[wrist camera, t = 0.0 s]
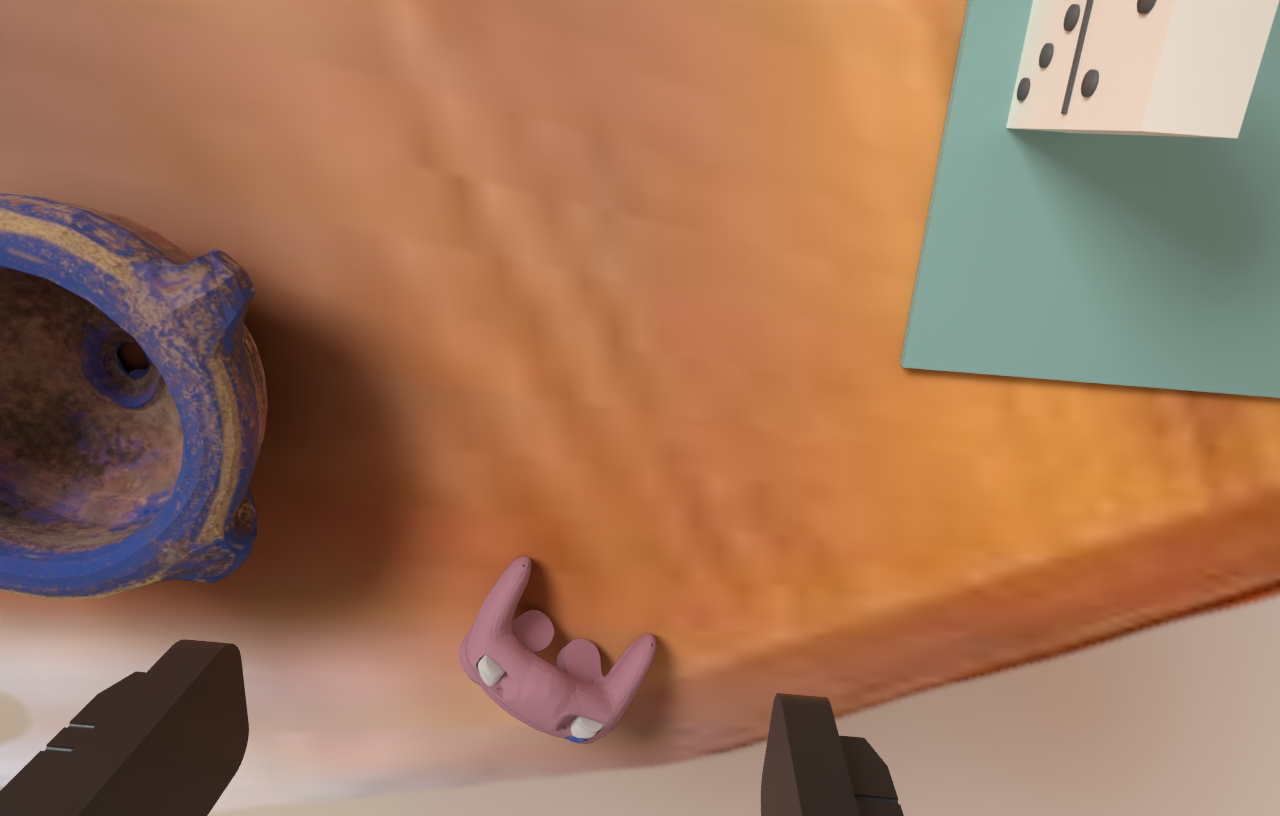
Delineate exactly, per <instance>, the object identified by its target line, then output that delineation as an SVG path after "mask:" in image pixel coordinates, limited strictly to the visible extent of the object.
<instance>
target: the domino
mask: <svg viewBox="0 0 1280 816" xmlns="http://www.w3.org/2000/svg"><path fill="white" fill-rule="evenodd" d="M1278 4H1279V0H1033V3H1032V8H1031V13H1030V17H1029V22H1028V27H1027V31H1026V36H1025V41H1024V46H1023V50H1022V55H1021V60H1020V65H1019V69H1018V74H1017V79H1016V83H1015V88H1014V93H1013V98H1012V102H1011V107H1010V112H1009V117H1008V121H1007V126H1006V128H1011V129H1025V130H1038V131H1051V132H1064V133H1081V134H1113V135H1145V136H1177V137H1208V138H1238V135H1239V132H1240V129H1241V125H1242V122H1243V119H1244V115H1245V112H1246V109H1247V106H1248V102H1249V99H1250V96H1251V92H1252V89H1253V86H1254V83H1255V79H1256V76H1257V73H1258V69H1259V66H1260V63H1261V59H1262V56H1263V53H1264V50H1265V46H1266V43H1267V40H1268V36H1269V33H1270V30H1271V27H1272V23H1273V20H1274V17H1275V13H1276V10H1277V7H1278Z"/></svg>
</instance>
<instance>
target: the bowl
mask: <svg viewBox="0 0 1280 816" xmlns="http://www.w3.org/2000/svg"><path fill="white" fill-rule="evenodd" d="M255 291H256V289H255V287H254V285H253V283H252V282H251V280H250V278H249V277H248V275H247V273H246V271H245V270H244V268H243V267H242V266H241V265H239V264H238V263H237V262H236V261H234V260H233V259H232V258H231V257H229V256H228V255H227V254H226V253H224V252H222V251H220V250H212V251H211V252H209V253H208V254H206V255H203V256H201V257H198V258H196V259H194V260H192V259H191V258H190V257H189V256H187V255H186V254H185V253H184V252H183V251H182V250H181V249H180V248H178V247H177V246H175V245H174V244H172V243H171V242H170V241H168V240H167V239H165V238H164V237H162V236H161V235H160V234H158V233H157V232H154V231H152V230H150V229H148V228H146V227H144V226H142V225H140V224H138V223H135V222H133V221H131V220H129V219H127V218H125V217H121V216H117V215H113V214H110V213H106V212H102V211H98V210H95V209H91V208H87V207H84V206H80V205H77V204H70V203H62V202H58V201H54V200H51V199H46V198H39V197H32V196H22V195H11V194H0V591H3V592H8V593H14V594H19V595H25V596H30V597H36V598H41V599H47V600H65V599H94V598H104V597H108V596H111V595H115V594H118V593H122V592H125V591H129V590H132V589H136V588H139V587H143V586H146V585H150V584H153V583H157V582H160V581H166V580H172V579H178V580H188V581H199V582H215V581H218V580H220V579H222V578H224V577H227V576H228V575H230V574H231V573H232V572H233V571H235V570H236V569H237V568H238V567H240V566H241V565H242V564H243V563H244V561H245V560H246V559H247V557H248V556H249V555H250V554H251V551H252V546H253V542H254V540H255V538H256V536H257V510H256V507H255V504H254V501H253V498H252V494H251V491H250V488H249V483H250V480H251V477H252V474H253V471H254V468H255V465H256V463H257V460H258V456H259V453H260V449H261V446H262V442H263V439H264V436H265V428H266V418H267V407H268V400H267V390H266V381H265V372H264V369H263V365H262V362H261V359H260V355H259V352H258V348H257V346H256V344H255V342H254V340H253V338H252V336H251V335H250V333H249V331H248V329H247V327H246V325H245V323H244V319H245V316H246V313H247V310H248V307H249V305H250V303H251V301H252V298H253V296H254V294H255ZM125 342H136V343H138V344H139V346H140V347H141V348H142V350H143V351H144V355H145V358H146V360H147V362H148V363H149V366H148V368H146V369H145V370H139V369H137V370H134V371H132V372H129V373H128V372H126V370H125V369H124V368H123V366H122V364H121V361H120V360H119V358H118V356H117V351H118V348H119V346H120V345H121V344H123V343H125Z"/></svg>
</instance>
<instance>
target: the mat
mask: <svg viewBox="0 0 1280 816" xmlns="http://www.w3.org/2000/svg"><path fill="white" fill-rule="evenodd" d="M1032 3H1033V0H968V3H967V9H966V14H965V19H964V25H963V30H962V35H961V41H960V46H959V51H958V57H957V62H956V67H955V73H954V78H953V83H952V89H951V94H950V99H949V105H948V110H947V115H946V121H945V126H944V131H943V137H942V142H941V147H940V153H939V158H938V163H937V169H936V174H935V179H934V185H933V190H932V195H931V201H930V206H929V212H928V217H927V222H926V228H925V233H924V238H923V244H922V249H921V254H920V260H919V265H918V270H917V276H916V281H915V286H914V292H913V297H912V302H911V308H910V313H909V318H908V324H907V329H906V334H905V340H904V345H903V350H902V356H901V361H900V365H901V366H902V367H903V368H915V369H927V370H940V371H952V372H965V373H977V374H989V375H1002V376H1014V377H1027V378H1039V379H1052V380H1064V381H1076V382H1089V383H1101V384H1114V385H1126V386H1139V387H1151V388H1163V389H1176V390H1188V391H1201V392H1213V393H1226V394H1238V395H1250V396H1263V397H1275V398H1280V0H1279V4H1278V7H1277V10H1276V13H1275V17H1274V20H1273V23H1272V27H1271V30H1270V33H1269V36H1268V40H1267V43H1266V46H1265V50H1264V53H1263V56H1262V59H1261V63H1260V66H1259V69H1258V73H1257V76H1256V79H1255V83H1254V86H1253V89H1252V92H1251V96H1250V99H1249V102H1248V106H1247V109H1246V112H1245V115H1244V119H1243V122H1242V125H1241V129H1240V132H1239V135H1238V138H1208V137H1177V136H1145V135H1113V134H1081V133H1064V132H1051V131H1038V130H1025V129H1011V128H1006V126H1007V121H1008V117H1009V112H1010V107H1011V102H1012V98H1013V93H1014V88H1015V83H1016V79H1017V74H1018V69H1019V65H1020V60H1021V55H1022V50H1023V46H1024V41H1025V36H1026V31H1027V27H1028V22H1029V17H1030V13H1031V8H1032Z"/></svg>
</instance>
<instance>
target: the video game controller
mask: <svg viewBox="0 0 1280 816" xmlns="http://www.w3.org/2000/svg"><path fill="white" fill-rule="evenodd" d="M531 564H532V563H531V559H530V558H529V557H527V556H523V557H519V558H518V559H516V560H514V561H513V562H512V563H511V564H510V565H509V567H508V568H507V569H506V570H505V571H504V573H503V574H502V575H501V577H500V578H499V579H498V581H497V582H496V584H495V585H494V587H493V589H492V590H491V592H490V593H489V595H488V596H487V598H486V599H485V601H484V603H483V605H482V607H481V609H480V611H479V613H478V615H477V617H476V619H475V621H474V623H473V626H472V628H471V630H470V632H469V633H468V634H467V635H466V637H465V638H464V640H463V642H462V644H461V647H460V661H461V664H462V667H463V669H464V671H465V673H466V674H467V675H468V677H469V678H470V679H471V680H472V681H474V682H475V683H477V684H479V685H480V686H481V687H482V688H483V690H484V691H485V692H486V693H487V695H488V696H489V697H490V698H491V699H492V700H493V701H494V702H495V703H496V704H498V705H499V706H500V707H501V708H502V709H504V710H505V711H506V712H508V713H509V714H510V715H512V716H513V717H515V718H516V719H518V720H520V721H521V722H523V723H525V724H527V725H529V726H530V727H532V728H534V729H536V730H539V731H541V732H544V733H547V734H549V735H552V736H555V737H560V738H565V739H568V740H570V741H572V742H575V743H579V744H588V743H593V742H594V741H596V740H598V739H600V738H601V737H603V736H605V735H606V734H607V733H609V732H610V731H612V730H613V729H614V727H615V726H616V724H617V723H618V722H619V720H620V719H621V717H622V716H623V714H624V713H625V711H626V710H627V708H628V706H629V705H630V703H631V701H632V700H633V698H634V696H635V695H636V693H637V691H638V689H639V687H640V685H641V684H642V682H643V680H644V678H645V676H646V674H647V672H648V670H649V668H650V666H651V664H652V661H653V659H654V655H655V651H656V639H655V636H654V635H652V634H649V633H648V634H644V635H643V636H641V637H639V638H638V639H636V640H635V641H634V642H633V643H632V644H631V645H630V646H629V647H628V648H627V649H626V651H625V652H624V653H623V654H622V655H621V657H620V658H619V659H618V660H617V662H616V663H615V664H614V666H613V667H612V669H611V670H610V671H609V673H608V674H607V675H606V676H604V677H603V676H602V672H601V662H600V654H599V651H598V649H597V648H596V646H595V645H594V644H593V643H591V642H590V641H588V640H585V639H575V640H573V641H571V642H570V643H569V644H567V645H566V646H565V647H563V648H562V649H561V650H560V651H559V653H558V656H557V667H555V666H554V665H552V664H550V663H549V662H547V661H545V660H544V659H542V658H541V657H539V656H537V655H536V654H537V653H539V652H541V651H542V650H543V649H545V648H546V647H547V646H548V645H549V644H550V643H551V641H552V639H553V636H554V627H553V624H552V622H551V621H550V619H549V618H548V617H547V616H546V615H545V614H544V613H543V612H541V611H538V610H529V611H527V612H525V613H523V614H521V615H520V616H518V617H517V618H515V619H514V620H512V619H513V615H514V612H515V609H516V606H517V604H518V602H519V600H520V598H521V596H522V594H523V592H524V590H525V587H526V585H527V583H528V580H529V577H530V573H531Z"/></svg>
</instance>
